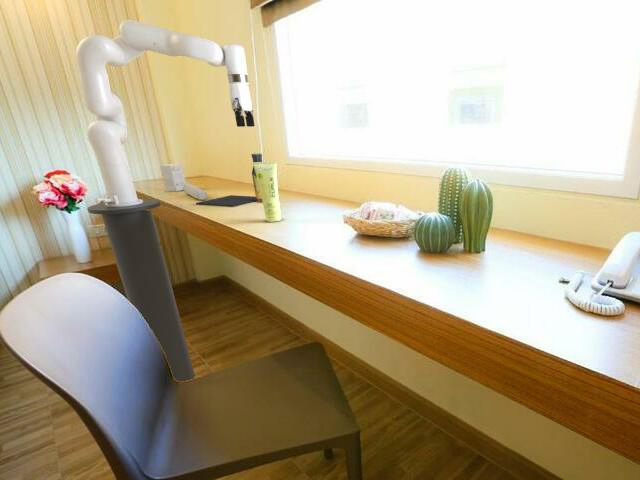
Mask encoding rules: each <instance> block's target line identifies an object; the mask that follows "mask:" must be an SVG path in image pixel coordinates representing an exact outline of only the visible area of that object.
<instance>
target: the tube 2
mask: <svg viewBox="0 0 640 480" xmlns="http://www.w3.org/2000/svg"><path fill="white" fill-rule="evenodd" d="M253 166H254V169H255V172H256V176H257V180H258V184H259V188H260V192H261V197H262V201H263V202H262V206H263V210H264V216H265V221H266V222H268V223H274V222H280V221H281V220H282V216H281V214H282V213H281V206H280V198H279V197H280V196H279V188H278V176H277V161H273V160H272V161H262V162H253V161H252V167H253Z"/></svg>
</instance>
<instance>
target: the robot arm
mask: <svg viewBox="0 0 640 480" xmlns="http://www.w3.org/2000/svg"><path fill="white" fill-rule="evenodd" d="M118 28H119V30H118V31H119V35H117V36H115V37H113V38H110V37H108V36H105V35H102V34H91V35H87V36H85V37H83V38H82V39H81V40H80V41H79V42H78V44H77V46H76V48H75V61H76V66H77V67H76V68H77V71H78V77H79V82H80V83H79V84H80V89H81V94H82V98H83V99H82V100H83V104H84V106H85V108H86V109H87V111H88V112H89V113H90V114H93V115H95V117H96V120H94V121H92V122H91V123H89V124H88V127H87V128H86V136H87V139H88V142H89V144H90V145H91V148H92V150H93V151H92V152H93V153H94V156H95V159H96V162H97V165H98V168H99V172H100V175H101V178H102V182H103V185H104V188H105V191H106V194H104V196H103V197H99V198H95V200H94V201H95V204H96V205H97V204H101V203H105V205H106V207H126V206H133V205H138V204H142V203H143V200H141V199H142V198H138V195H137V191H136V187H135V184H134V179H133V176H132V173H131V169H130V164H129V162H128V158H127V155H126V152H125V150H124V147H123V145H124V144H125V143H126V142H127V140H128V135H129V134H128V128H127V122H126V115H125V111H124V106H123V103H122V101H121V99H120V98H119V97H118V96H117V95H116V94H114V93H113V92H112V90H111V85H110V78H109V75H108V72H107V68H106V66H107V65H109V66H112V67H123V66H125V65H127V64H129V63H130V62H132V61H134V60H136V59H137V58H140V57H141V56H142V55H143V54H146V52H149V51H150V52H152V53H153V52H154V53H158V54H161V55H165V56H169V57H185V58H186V57H187V58H191V59H194V60H195V59H196V60H199V61H202V62H206V63H207V64H208V65H209V66H212V67H216V68H217V67H218V68H219V67H225V68H226V73H227V80H228V84H229V95H230V96H229V97H230V106H231V110H232V111H233V114H234V117H235V123H236V127H238V128H239V127H241V128H245V127H250V128H251V127H253V128H254V127H255V120H254V119H255V118H254V110H253V103H252V97H251V93H250V92H251V91H250V88H249V85H250V80H249V73H248V67H247V59H246V53H245V49H244V47H243V46H242V45H240V44H236V43H226V44H225V45H223V46H222V45H219V44H218V43H217V42H215V41H213V40H211V39H208V38H204V37H200V36H197V35H193V34H189V33H184V32H181V31H176V30H172V29H168V28H164V27H159V26H156V25H153V24H149V23H146V22H142V21H139V20H135V19H125V20H122V22H120V24H119V27H118ZM244 115H245V116H244Z"/></svg>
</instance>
